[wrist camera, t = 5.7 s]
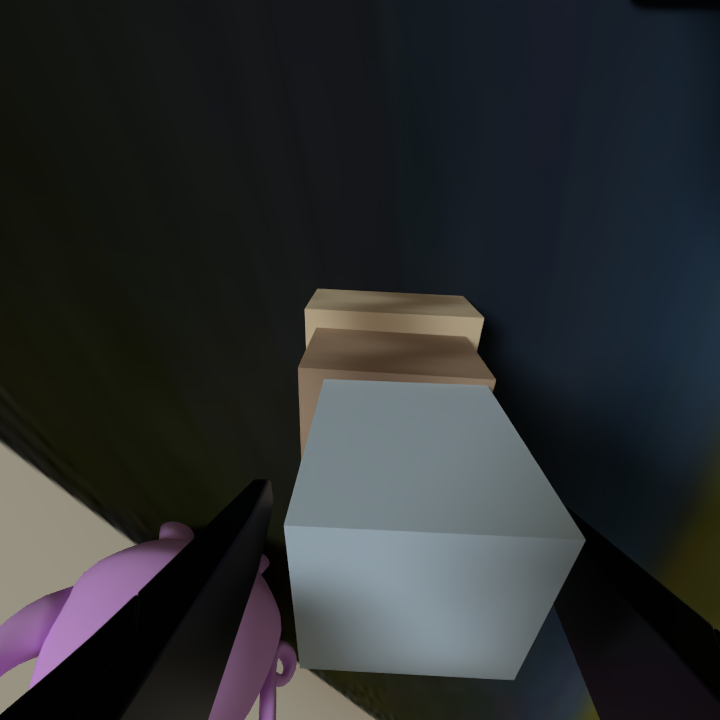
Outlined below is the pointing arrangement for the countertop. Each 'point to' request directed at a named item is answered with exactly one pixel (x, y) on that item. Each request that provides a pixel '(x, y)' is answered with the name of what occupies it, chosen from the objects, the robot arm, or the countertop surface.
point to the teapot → (124, 580)
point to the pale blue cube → (422, 534)
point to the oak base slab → (393, 313)
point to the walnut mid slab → (384, 363)
